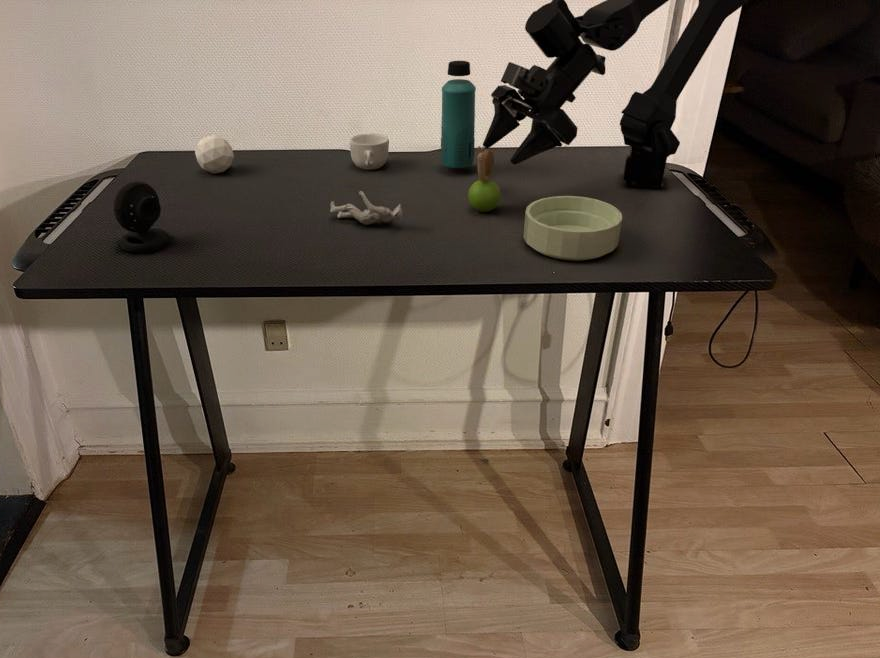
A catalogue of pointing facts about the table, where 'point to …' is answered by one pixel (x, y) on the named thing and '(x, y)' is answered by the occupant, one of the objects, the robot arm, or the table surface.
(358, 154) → the teacup
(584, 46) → the robot arm
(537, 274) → the table surface
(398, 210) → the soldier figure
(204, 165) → the ornament
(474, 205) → the snail figurine
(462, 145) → the beverage bottle
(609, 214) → the basin
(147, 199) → the webcam
